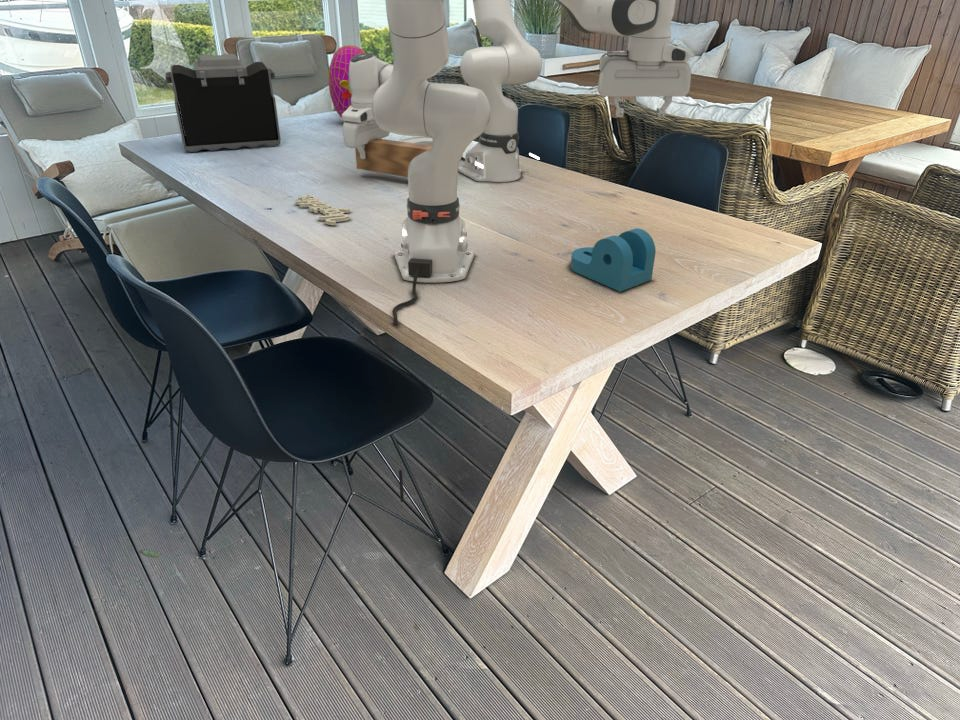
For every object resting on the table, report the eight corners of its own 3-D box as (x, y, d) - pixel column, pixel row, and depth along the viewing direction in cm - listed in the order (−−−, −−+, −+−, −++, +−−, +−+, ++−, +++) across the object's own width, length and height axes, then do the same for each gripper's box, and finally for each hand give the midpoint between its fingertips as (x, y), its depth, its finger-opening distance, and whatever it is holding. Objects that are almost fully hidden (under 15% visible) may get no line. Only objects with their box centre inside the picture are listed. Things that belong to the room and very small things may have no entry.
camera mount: (651, 279, 153) (658, 234, 148) (620, 291, 148) (626, 245, 142) (592, 255, 165) (596, 213, 160) (561, 266, 160) (564, 222, 154)
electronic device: (278, 133, 274) (267, 51, 259) (285, 146, 256) (274, 59, 241) (180, 140, 262) (162, 54, 247) (180, 153, 244) (161, 62, 229)
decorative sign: (363, 215, 186) (329, 222, 181) (363, 219, 186) (330, 226, 181) (319, 192, 204) (287, 198, 198) (319, 195, 204) (288, 201, 199)
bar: (436, 176, 214) (436, 146, 210) (429, 180, 211) (428, 149, 206) (365, 165, 225) (363, 136, 220) (356, 168, 221) (354, 139, 217)
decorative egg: (362, 116, 305) (357, 42, 290) (386, 123, 292) (382, 46, 277) (324, 121, 294) (316, 45, 279) (347, 129, 281) (340, 49, 266)
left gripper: (603, 52, 146) (597, 119, 153) (697, 52, 147) (687, 119, 154) (597, 48, 152) (591, 114, 159) (688, 49, 153) (678, 114, 160)
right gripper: (376, 104, 222) (379, 148, 229) (338, 115, 206) (342, 162, 213) (393, 106, 219) (395, 150, 226) (355, 118, 204) (358, 164, 211)
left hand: (639, 117), depth 156 cm, fingers open, 8 cm apart
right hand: (369, 156), depth 220 cm, fingers closed on bar, 5 cm apart
